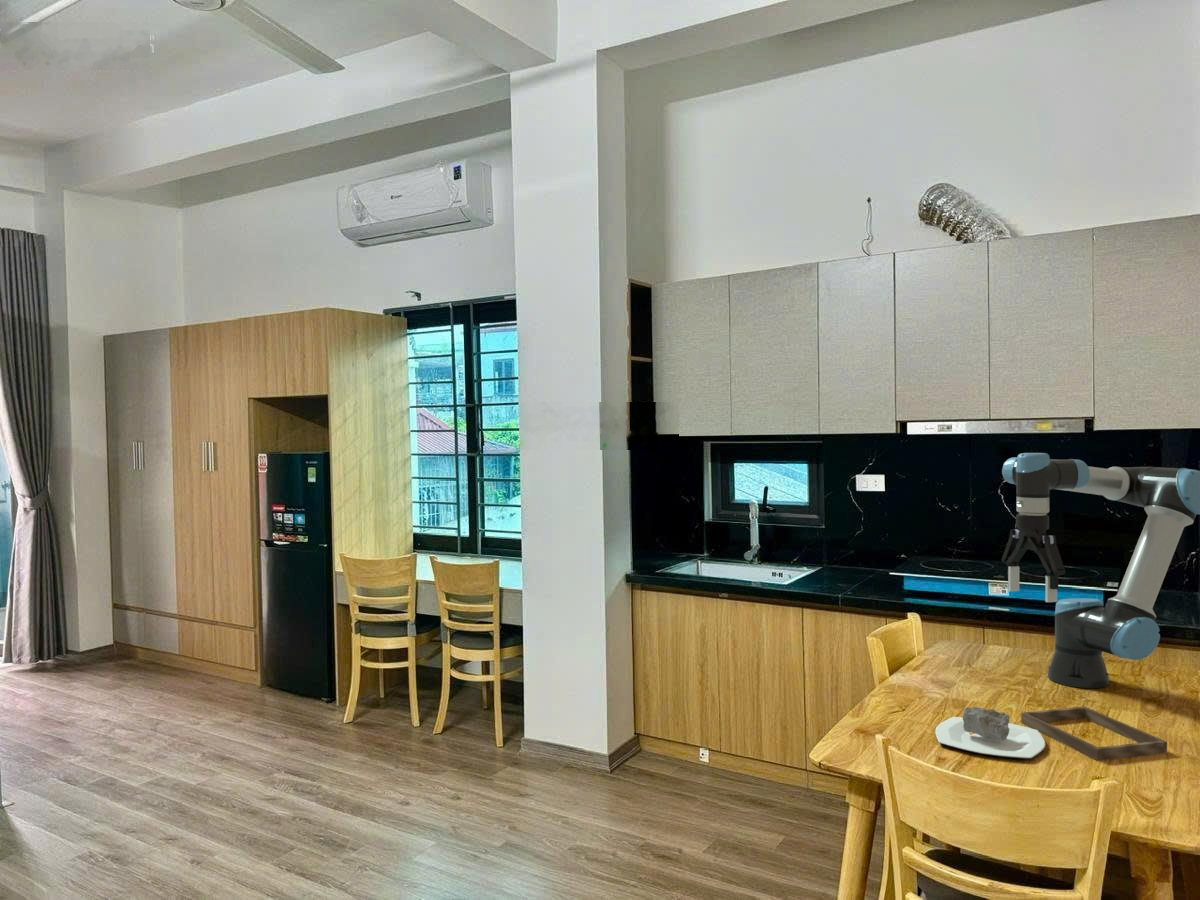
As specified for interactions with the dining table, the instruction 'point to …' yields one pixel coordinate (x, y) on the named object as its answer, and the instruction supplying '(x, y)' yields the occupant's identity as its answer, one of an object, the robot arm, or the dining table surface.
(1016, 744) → the plate
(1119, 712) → the dining table surface
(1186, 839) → the dining table surface
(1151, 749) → the empty rectangular frame
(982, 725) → the stone
